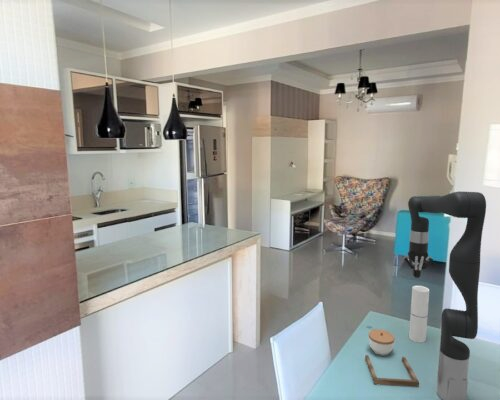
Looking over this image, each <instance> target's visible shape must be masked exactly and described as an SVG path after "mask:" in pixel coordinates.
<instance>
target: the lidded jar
mask: <svg viewBox="0 0 500 400" xmlns="http://www.w3.org/2000/svg"><path fill="white" fill-rule="evenodd" d="M395 339H396V338H395V336H394V334H393V333H392V332H390V331H388V330H386V329H379V328H376V329H371V330H370V331H369V332H368V343H369V346H370V348H371V350H372V351H373V352H374V353H375V354H376V355H378V354H379V355H378V356H388V354H390V353H391V352H392V351H393V348H394V345H395Z"/></svg>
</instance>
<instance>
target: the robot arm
mask: <svg viewBox="0 0 500 400" xmlns="http://www.w3.org/2000/svg"><path fill="white" fill-rule="evenodd" d="M407 206H408V210H409V215H410V221H411V223H410V232H409V244H408V252H407V255H405V256H402V260H403V261H404V262H405V263H406V264H407V266H408V267H409V268H410V269H411V270H412V275H413V277H414V278H415V279H419V278H420V277H421V275H422V274H421V271H422V270H425V269H427V268H428V267H429V265H430V264H431V263H433V261H434V259H433V258H432V257H431V256H429V253H428V250H429V237H430V235H429V229H430V221H429V218H427V217H424V216H420V213H429V214H446V215H448V216H450V217H452V218H453V217H454V218H459V219H466V225H465V229H464V232H463V233H462V235H461V237H460V238H459V240H457V242H456V244H454V246H453V248H452V249H451V250H450V253H449V263H448V273H449V275H450V278H451V280H452V281H453V282H454V284H455V285H456V287H457V289H458V290H459V293H460V294H461V296H462V298H463V300H464V302H465V304H464V305H465V310H461V309H459V310H458V309H453V308H444V309H443V310H442V312H441V315H440V316H441V317H440V319H441V320H440V327H441V328H440V343H439V344H440V345H439V354H438V364H437V365H438V368H437V379H436V395H437V396H438V397H439V398H440V399H441V400H467V396H468V395H467V394H468V385H469V381H468V374H469V365H470V356H471V350H470V348H469V346H468V345H467V344H465V343H464V342H462V341H461V340H458V339H457V338H461V339H468V340H474V339H476V337H477V335H478V331H479V330H478V329H479V316H478V314H479V311H478V309H479V306H478V300H479V299H478V297H479V293H478V292H479V282H480V274H481V273H480V272H481V252H482V251H481V249H482V236H483V230H484V223H485V219H486V218H485V217H486V212H487V200H486V196H485V195H484V194H483V193H482V192H478V191H454V192H450V193H448V194H446V195H428V196H426V195H424V196H423V195H422V196H421V195H420V196H419V195H418V196H416V195H415V196H411V197H410V198H409V199H408V201H407ZM410 260H411V262H410Z"/></svg>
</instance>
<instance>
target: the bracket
mask: <svg viewBox="0 0 500 400" xmlns="http://www.w3.org/2000/svg"><path fill="white" fill-rule="evenodd" d="M364 360H365V363H366V362H367V363H366V365H368V366H367V367H368V371H369V373H371V374H370V376H371V378H373V379H372V381H374V382H373V384H374V385H377V384H380V386H381V385H382V386H396V387H397V386H399V387H415V388H419V387H420V381H419V379H418V378H417V376H416V374H415V372H414V371H413V368H412V367H411V365H410V364H409V362H408V360H407V358H406V356H401V362H402V364H403V366H404V368H405V370H406V372H407V374H408V376H409V378H410V379H407V378H404V379H403V378H387V377H386V378H385V377H378V376H377V374H376V372H375V369H374V366H373V364H372V361H371V358H370V356H369V354H364Z"/></svg>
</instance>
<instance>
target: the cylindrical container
mask: <svg viewBox="0 0 500 400" xmlns="http://www.w3.org/2000/svg"><path fill="white" fill-rule="evenodd" d="M429 299H430V289H429V288H428V287H426V286H424V285H413V286H412V287H411V304H410V316H409V317H410V318H409V333H408V337H409V339H410V340H411V341H412V342H415V343H420V344H421V343H425V342H426V340H427V327H428V316H429V315H428V313H429V302H430V301H429Z"/></svg>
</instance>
